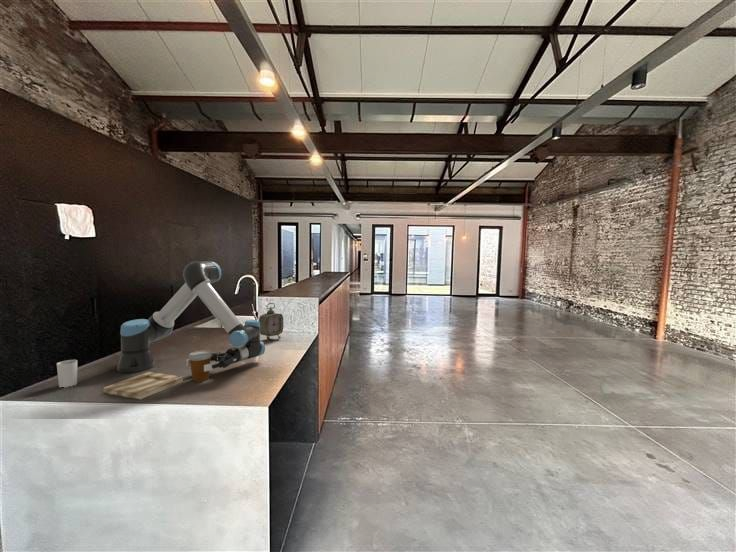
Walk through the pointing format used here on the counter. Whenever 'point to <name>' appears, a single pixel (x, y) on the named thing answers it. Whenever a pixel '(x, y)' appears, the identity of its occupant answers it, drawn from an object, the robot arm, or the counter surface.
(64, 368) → the drinking glass
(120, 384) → the birch board
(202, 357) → the disposable coffee cup
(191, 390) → the counter surface
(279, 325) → the tabletop clock
